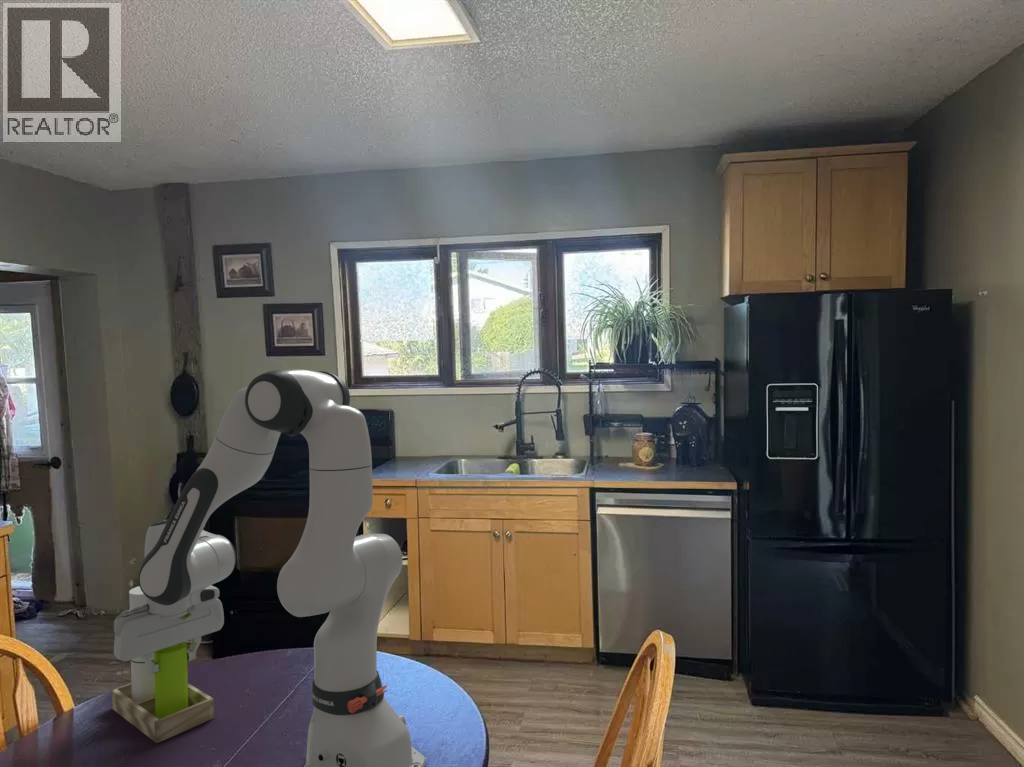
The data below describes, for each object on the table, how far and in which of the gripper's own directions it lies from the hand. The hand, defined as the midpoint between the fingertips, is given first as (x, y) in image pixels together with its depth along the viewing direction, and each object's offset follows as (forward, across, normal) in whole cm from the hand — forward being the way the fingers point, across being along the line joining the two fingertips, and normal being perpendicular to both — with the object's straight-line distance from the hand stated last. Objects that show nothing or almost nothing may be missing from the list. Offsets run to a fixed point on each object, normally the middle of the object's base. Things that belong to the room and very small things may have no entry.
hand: (172, 666), depth 129 cm
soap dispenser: (+10, 0, 0) cm, 10 cm away
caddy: (+11, 0, +5) cm, 12 cm away
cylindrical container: (+12, 0, +10) cm, 15 cm away
